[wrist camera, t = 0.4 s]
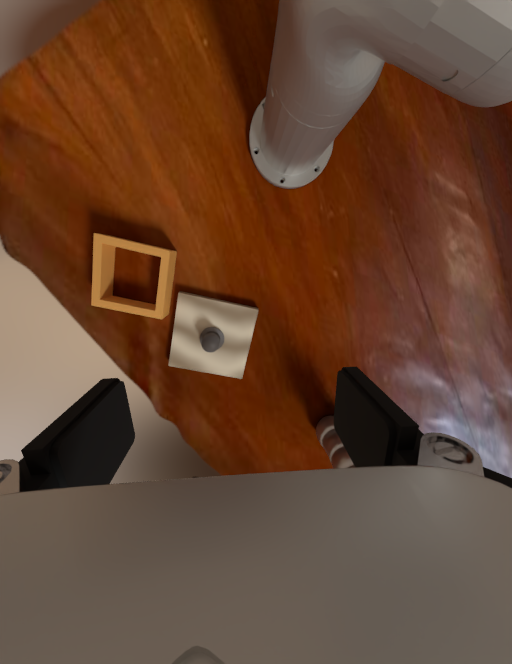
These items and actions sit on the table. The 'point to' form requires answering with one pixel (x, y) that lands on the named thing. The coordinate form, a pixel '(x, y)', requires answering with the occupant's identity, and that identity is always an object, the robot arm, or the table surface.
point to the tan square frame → (105, 276)
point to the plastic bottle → (332, 443)
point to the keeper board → (215, 317)
